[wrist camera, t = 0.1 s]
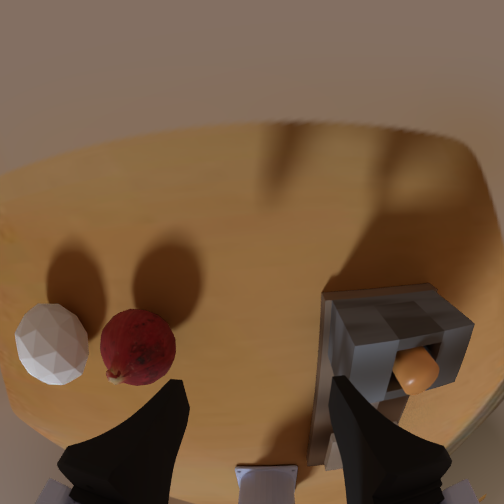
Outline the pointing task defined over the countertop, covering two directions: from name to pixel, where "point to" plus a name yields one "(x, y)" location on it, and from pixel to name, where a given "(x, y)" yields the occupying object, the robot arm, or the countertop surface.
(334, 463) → the carriage
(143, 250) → the countertop surface
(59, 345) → the ball
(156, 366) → the onion
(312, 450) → the rail bed
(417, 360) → the brown egg
